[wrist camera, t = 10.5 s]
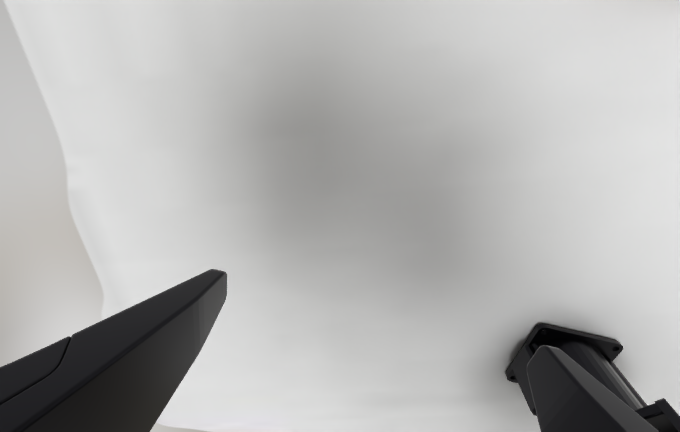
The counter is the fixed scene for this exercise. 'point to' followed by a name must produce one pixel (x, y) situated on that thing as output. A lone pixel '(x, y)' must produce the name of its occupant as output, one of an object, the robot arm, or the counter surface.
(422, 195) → the counter surface
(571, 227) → the counter surface
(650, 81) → the counter surface
